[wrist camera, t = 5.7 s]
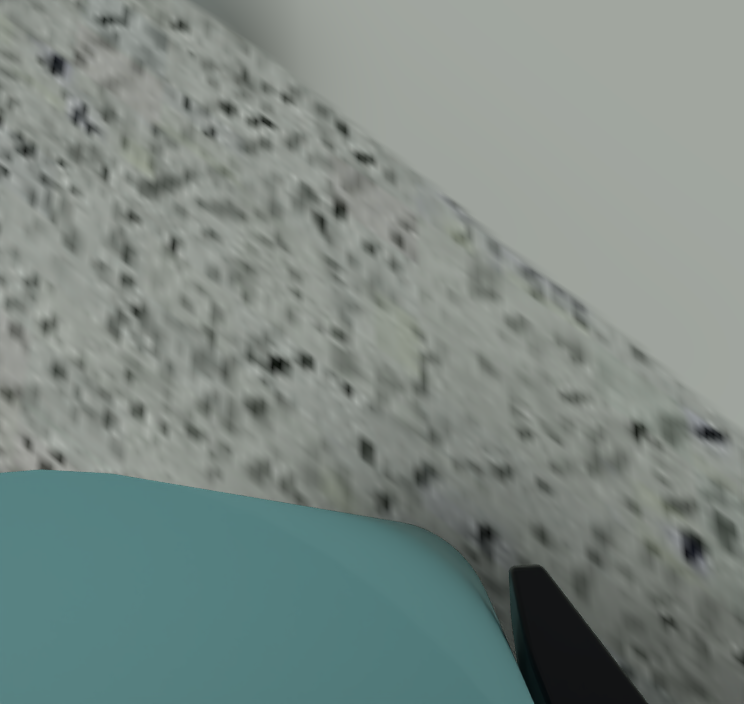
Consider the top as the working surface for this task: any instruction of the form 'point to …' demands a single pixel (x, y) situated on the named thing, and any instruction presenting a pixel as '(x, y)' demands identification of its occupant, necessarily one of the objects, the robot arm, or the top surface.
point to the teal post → (232, 602)
